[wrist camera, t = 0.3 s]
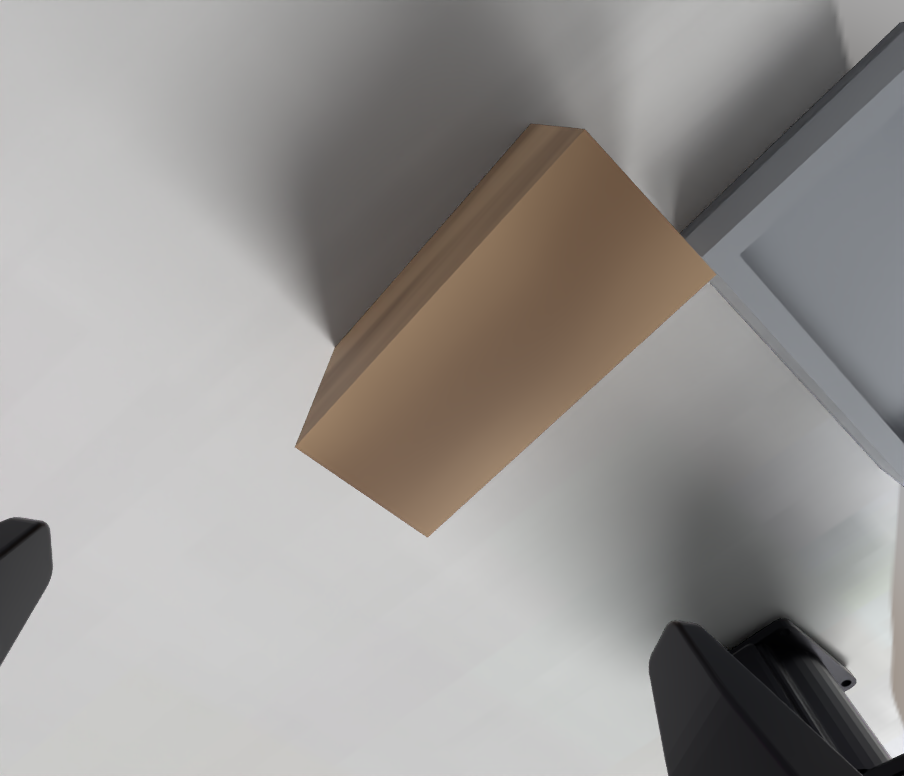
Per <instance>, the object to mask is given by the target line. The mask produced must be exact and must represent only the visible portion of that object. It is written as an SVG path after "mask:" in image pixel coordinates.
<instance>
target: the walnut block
mask: <svg viewBox="0 0 904 776" xmlns="http://www.w3.org/2000/svg"><path fill="white" fill-rule="evenodd" d="M715 275H716V273H715V272H714V271H713V270H712V269H711V268H710V267H709V266H708V265H707V263H706V262H705V261H704V260H703V259H702V258H701V257H700V256H699V255H698V254H697V252H696V251H695V250H694V249H693V248H692V247H691V246H690V245H689V244H688V242H687V241H686V240H685V239H684V238H683V237H682V236H681V235H680V234H679V233H678V231H677V230H676V229H675V228H674V227H673V226H672V225H671V224H670V223H669V221H668V220H667V219H666V218H665V217H664V216H663V215H662V214H661V213H660V212H659V210H658V209H657V208H656V207H655V206H654V205H653V204H652V203H651V202H650V200H649V199H648V198H647V197H646V196H645V195H644V194H643V193H642V192H641V191H640V189H639V188H638V187H637V186H636V185H635V184H634V183H633V182H632V181H631V180H630V178H629V177H628V176H627V175H626V174H625V173H624V172H623V171H622V170H621V168H620V167H619V166H618V165H617V164H616V163H615V162H614V161H613V160H612V159H611V157H610V156H609V155H608V154H607V153H606V152H605V151H604V150H603V149H602V147H601V146H600V145H599V144H598V143H597V142H596V141H595V140H594V139H593V138H592V136H591V135H590V134H589V133H588V132H587V131H586V130H585V129H578V128H569V127H559V126H549V125H539V124H530V125H529V126H528V127H527V129H526V130H525V131H524V132H523V133H522V134H521V135H520V137H519V138H518V139H517V140H516V141H515V142H514V143H513V145H512V146H511V147H510V148H509V149H508V150H507V151H506V153H505V154H504V155H503V156H502V157H501V158H500V159H499V161H498V162H497V163H496V164H495V165H494V166H493V167H492V169H491V170H490V171H489V172H488V173H487V174H486V175H485V177H484V178H483V179H482V180H481V181H480V182H479V183H478V185H477V186H476V187H475V188H474V189H473V190H472V191H471V193H470V194H469V195H468V196H467V197H466V198H465V199H464V201H463V202H462V203H461V204H460V205H459V206H458V207H457V209H456V210H455V211H454V212H453V213H452V214H451V215H450V217H449V218H448V219H447V220H446V221H445V222H444V224H443V225H442V226H441V227H440V228H439V229H438V230H437V232H436V233H435V234H434V235H433V236H432V237H431V238H430V240H429V241H428V242H427V243H426V244H425V245H424V246H423V248H422V249H421V250H420V251H419V252H418V253H417V254H416V256H415V257H414V258H413V259H412V260H411V261H410V262H409V264H408V265H407V266H406V267H405V268H404V269H403V270H402V272H401V273H400V274H399V275H398V276H397V277H396V278H395V280H394V281H393V282H392V283H391V284H390V285H389V286H388V288H387V289H386V290H385V291H384V292H383V293H382V294H381V296H380V297H379V298H378V299H377V300H376V301H375V302H374V304H373V305H372V306H371V307H370V308H369V309H368V310H367V312H366V313H365V314H364V315H363V316H362V317H361V318H360V320H359V321H358V322H357V323H356V324H355V325H354V326H353V328H352V329H351V330H350V331H349V332H348V333H347V334H346V336H345V337H344V338H343V339H342V340H341V341H340V342H339V344H338V345H337V346H336V347H335V349H334V351H333V354H332V356H331V359H330V361H329V364H328V366H327V369H326V371H325V374H324V376H323V379H322V381H321V384H320V386H319V389H318V391H317V393H316V396H315V398H314V401H313V403H312V406H311V408H310V411H309V413H308V416H307V418H306V421H305V423H304V426H303V428H302V431H301V433H300V436H299V438H298V441H297V443H296V446H295V448H297V449H298V450H300V451H301V452H303V453H304V454H306V455H307V456H309V457H310V458H312V459H313V460H314V461H316V462H317V463H319V464H320V465H322V466H323V467H325V468H326V469H328V470H329V471H331V472H332V473H334V474H335V475H336V476H338V477H339V478H341V479H342V480H344V481H345V482H347V483H348V484H350V485H351V486H353V487H354V488H356V489H357V490H358V491H360V492H361V493H363V494H364V495H366V496H367V497H369V498H370V499H372V500H373V501H375V502H376V503H378V504H379V505H381V506H382V507H383V508H385V509H386V510H388V511H389V512H391V513H392V514H394V515H395V516H397V517H398V518H400V519H401V520H403V521H404V522H405V523H407V524H408V525H410V526H411V527H413V528H414V529H416V530H417V531H419V532H420V533H422V534H423V535H425V536H426V537H427V538H428V537H429V536H430V535H431V534H432V533H433V532H434V531H435V530H436V529H437V528H439V527H440V526H441V525H442V524H443V523H444V522H445V521H446V520H447V519H448V518H450V517H451V516H452V515H453V514H454V513H455V512H456V511H457V510H458V509H459V508H461V507H462V506H463V505H464V504H465V503H466V502H467V501H468V500H469V499H470V498H472V497H473V496H474V495H475V494H476V493H477V492H478V491H479V490H480V489H481V488H483V487H484V486H485V485H486V484H487V483H488V482H489V481H490V480H491V479H492V478H493V477H495V476H496V475H497V474H498V473H499V472H500V471H501V470H502V469H503V468H504V467H506V466H507V465H508V464H509V463H510V462H511V461H512V460H513V459H514V458H515V457H517V456H518V455H519V454H520V453H521V452H522V451H523V450H524V449H525V448H526V447H528V446H529V445H530V444H531V443H532V442H533V441H534V440H535V439H536V438H537V437H539V436H540V435H541V434H542V433H543V432H544V431H545V430H546V429H547V428H548V427H549V426H551V425H552V424H553V423H554V422H555V421H556V420H557V419H558V418H559V417H560V416H562V415H563V414H564V413H565V412H566V411H567V410H568V409H569V408H570V407H571V406H573V405H574V404H575V403H576V402H577V401H578V400H579V399H580V398H581V397H582V396H584V395H585V394H586V393H587V392H588V391H589V390H590V389H591V388H592V387H593V386H595V385H596V384H597V383H598V382H599V381H600V380H601V379H602V378H603V377H604V376H606V375H607V374H608V373H609V372H610V371H611V370H612V369H613V368H614V367H615V366H616V365H618V364H619V363H620V362H621V361H622V360H623V359H624V358H625V357H626V356H627V355H629V354H630V353H631V352H632V351H633V350H634V349H635V348H636V347H637V346H638V345H640V344H641V343H642V342H643V341H644V340H645V339H646V338H647V337H648V336H649V335H651V334H652V333H653V332H654V331H655V330H656V329H657V328H658V327H659V326H660V325H662V324H663V323H664V322H665V321H666V320H667V319H668V318H669V317H670V316H671V315H672V314H674V313H675V312H676V311H677V310H678V309H679V308H680V307H681V306H682V305H683V304H685V303H686V302H687V301H688V300H689V299H690V298H691V297H692V296H693V295H694V294H696V293H697V292H698V291H699V290H700V289H701V288H702V287H703V286H704V285H705V284H707V283H708V282H709V281H710V280H711V279H712V278H713V277H714V276H715Z"/></svg>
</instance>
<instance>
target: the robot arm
mask: <svg viewBox="0 0 904 776" xmlns="http://www.w3.org/2000/svg"><path fill="white" fill-rule="evenodd" d="M52 570H53V562H52V548H51V535H50V528H49V526H48V524H47V523H45V522H43V521H40V520H33V519H27V518H20V517H13V518H9V519H6V520H4V521H2V522H0V666H1V664H2V662H3V661H4V659H5V657H6V656H7V654H8V652H9V651H10V649H11V647H12V645H13V644H14V642H15V640H16V639H17V637H18V635H19V634H20V632H21V630H22V628H23V627H24V625H25V623H26V622H27V620H28V618H29V616H30V615H31V613H32V611H33V610H34V608H35V606H36V605H37V603H38V601H39V599H40V598H41V596H42V594H43V593H44V591H45V589H46V587H47V586H48V584H49V581H50V579H51V575H52ZM649 675H650V681H651V686H652V691H653V697H654V702H655V708H656V713H657V719H658V724H659V729H660V735H661V740H662V746H663V751H664V757H665V762H666V767H667V771H668V776H904V754H901V755H899V756H897V757H895V758H893V759H892V758H891V757H890V755H889V754H888V752H887V751H886V750H885V748H884V747H883V745H882V744H881V743H880V741H879V740H878V738H877V737H876V736H875V734H874V733H873V732H872V730H871V729H870V727H869V726H868V725H867V723H866V722H865V720H864V719H863V718H862V716H861V715H860V713H859V712H858V711H857V709H856V708H855V706H854V705H853V704H852V702H851V701H850V699H849V698H848V697H847V695H846V694H845V691H847V690H848V689H850V688H852V687H853V686H854V685H855V684H856V679H855V677H854V676H853V675H852V673H851V672H850V671H849V670H848V669H847V668H846V667H844V666H843V665H842V664H841V663H840V662H838V661H837V660H836V659H835V658H834V657H832V656H831V655H830V654H829V653H828V652H827V651H825V650H824V649H823V648H822V647H821V646H819V645H818V644H817V643H816V642H815V641H813V640H812V639H811V638H810V637H809V636H808V635H806V634H805V633H804V632H803V631H802V630H800V629H799V628H798V627H797V626H796V625H795V624H793V623H792V622H791V621H790V620H788V619H778V620H776V621H774V622H773V623H771V624H770V625H768V626H767V627H765V628H764V629H762V630H761V631H759V632H758V633H756V634H755V635H753V636H752V637H750V638H749V639H747V640H746V641H744V642H743V643H741V644H740V645H738V646H737V647H735V648H734V649H732V650H731V651H729V652H728V651H727V650H726V649H725V648H724V647H723V646H722V645H721V644H720V643H719V642H717V641H716V640H715V639H714V638H713V637H712V636H711V635H710V634H709V633H708V632H707V631H705V630H704V629H703V628H702V627H701V626H699V625H698V624H695V623H690V622H684V621H677V620H674V621H671V622H670V623H668V624H667V626H666V628H665V629H664V631H663V633H662V635H661V637H660V639H659V641H658V643H657V645H656V647H655V648H654V650H653V652H652V654H651V657H650V661H649Z"/></svg>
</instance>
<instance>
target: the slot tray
mask: <svg viewBox="0 0 904 776" xmlns="http://www.w3.org/2000/svg"><path fill="white" fill-rule="evenodd" d="M680 235H681V236H682V237H683V238H684V239H685V240H686V241H687V242H688V244H689V245H690V246H691V247H692V248H693V249H694V250H695V251H696V252H697V254H698V255H699V256H700V257H701V258H702V259H703V260H704V261H705V262H706V263H707V265H708V266H709V267H710V268H711V269H712V270H713V271H714V272H715V273H716V275H715V276H714V277H713V278H712V279H711V280H710V281H709V282H710V283H711V284H712V285H713V286H714V287H715V289H716V290H717V291H718V292H719V293H720V294H721V295H722V296H723V297H724V298H725V299H726V301H727V302H728V303H729V304H730V305H731V306H732V307H733V308H734V309H735V310H736V311H737V313H738V314H739V315H740V316H741V317H742V318H743V319H744V320H745V321H746V322H747V323H748V325H749V326H750V327H751V328H752V329H753V330H754V331H755V332H756V333H757V334H758V335H759V337H760V338H761V339H762V340H763V341H764V342H765V343H766V344H767V345H768V346H769V347H770V349H771V350H772V351H773V352H774V353H775V354H776V355H777V356H778V357H779V358H780V359H781V361H782V362H783V363H784V364H785V365H786V366H787V367H788V368H789V369H790V370H791V371H792V373H793V374H794V375H795V376H796V377H797V378H798V379H799V380H800V381H801V382H802V383H803V385H804V386H805V387H806V388H807V389H808V390H809V391H810V392H811V393H812V394H813V395H814V397H815V398H816V399H817V400H818V401H819V402H820V403H821V404H822V405H823V406H824V407H825V409H826V410H827V411H828V412H829V413H830V414H831V415H832V416H833V417H834V418H835V419H836V421H837V422H838V423H839V424H840V425H841V426H842V427H843V428H844V429H845V430H846V431H847V433H848V434H849V435H850V436H851V437H852V438H853V439H854V440H855V441H856V442H857V443H858V445H859V446H860V447H861V448H862V449H863V450H864V451H865V452H866V453H867V454H868V455H869V457H870V458H871V459H872V460H873V461H874V462H875V463H876V464H877V465H878V466H879V467H880V469H882V470H883V471H884V472H886V473H887V474H888V475H889V476H891V477H892V478H893V479H894V480H896V481H897V482H898V483H900V484H901V485H902V486H903V487H904V22H901V23H899V24H898V25H897V26H896V27H895V28H894V29H893V30H892V31H891V32H890V33H889V34H888V35H886V36H885V38H883V39H882V40H881V41H880V42H879V43H878V44H877V45H876V46H875V47H874V48H873V49H872V50H871V51H870V52H869V53H868V54H867V55H866V56H865V57H864V58H863V59H861V61H859V62H858V63H857V64H856V65H855V66H854V67H853V68H852V69H851V70H850V71H849V72H848V73H847V74H846V75H845V76H844V77H843V78H842V79H841V80H840V81H839V82H838V83H836V84H835V85H834V86H833V87H832V88H831V89H830V90H829V91H828V92H827V93H826V94H825V95H824V96H823V97H822V98H821V99H820V100H819V101H818V102H817V103H816V104H815V105H814V106H812V107H811V108H810V109H809V110H808V111H807V112H806V113H805V114H804V115H803V116H802V117H801V118H800V119H799V120H798V121H797V122H796V123H795V124H794V125H793V126H792V127H791V128H790V129H789V130H787V131H786V132H785V133H784V134H783V135H782V136H781V137H780V138H779V139H778V140H777V141H776V142H775V143H774V144H773V145H772V146H771V147H770V148H769V149H768V150H767V151H766V152H765V153H764V154H762V155H761V156H760V157H759V158H758V159H757V160H756V161H755V162H754V163H753V164H752V165H751V166H750V167H749V168H748V169H747V170H746V171H745V172H744V173H743V174H742V175H741V176H740V177H738V178H737V179H736V180H735V181H734V182H733V183H732V184H731V185H730V186H729V187H728V188H727V189H726V190H725V191H724V192H723V193H722V194H721V195H720V196H719V197H718V198H717V199H716V200H715V201H713V202H712V203H711V204H710V205H709V206H708V207H707V208H706V209H705V210H704V211H703V212H702V213H701V214H700V215H699V216H698V217H697V218H696V219H695V220H694V221H693V222H692V223H691V224H690V225H688V226H687V227H686V228H685V229H684V230H683V231H682V232H681V233H680Z"/></svg>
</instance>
